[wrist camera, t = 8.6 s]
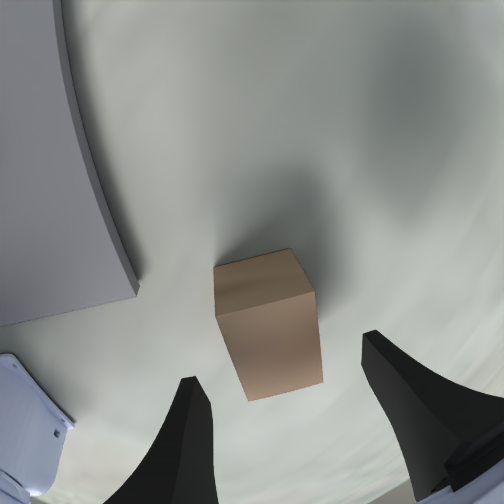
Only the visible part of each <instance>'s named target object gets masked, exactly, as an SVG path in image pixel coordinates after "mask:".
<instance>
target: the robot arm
mask: <svg viewBox="0 0 504 504" xmlns="http://www.w3.org/2000/svg"><path fill="white" fill-rule="evenodd" d="M361 365H362V368H363V370H364V373H365V375H366V378H367V380H368V382H369V385H370V386H371V388H372V390H373V392H374V394H375V395H376V397H377V399H378V401H379V403H380V404H381V406H382V408H383V410H384V412H385V413H386V415H387V417H388V419H389V421H390V423H391V425H392V427H393V429H394V432H395V434H396V437H397V440H398V442H399V445H400V448H401V450H402V453H403V456H404V459H405V462H406V466H407V469H408V472H409V476H410V479H411V483H412V487H413V491H414V496H415V499H416V501H417V503H415V504H504V398H502V397H497V396H493V395H488V394H484V393H481V392H478V391H475V390H472V389H469V388H467V387H464V386H462V385H459V384H457V383H454V382H452V381H450V380H448V379H446V378H444V377H442V376H440V375H439V374H437V373H435V372H433V371H432V370H430V369H428V368H427V367H425V366H424V365H422V364H421V363H419V362H418V361H416V360H415V359H413V358H412V357H410V356H409V355H408V354H406V353H405V352H404V351H402V350H401V349H400V348H398V347H397V346H396V345H395V344H393V343H392V342H391V341H389V340H388V339H387V338H386V337H385V336H383V335H382V334H381V333H380V332H378V331H377V330H373V331H370V332H367V333H364V334H363V340H362V361H361ZM74 427H75V425H74V423H73V422H72V421H71V420H70V419H69V418H68V417H67V416H66V415H65V414H64V413H63V412H62V411H61V410H60V409H59V408H58V407H57V406H56V405H55V404H54V403H53V402H52V401H51V400H50V398H49V397H48V396H47V395H46V394H45V393H44V392H43V390H42V389H41V388H40V387H39V386H38V385H37V383H36V382H35V381H34V380H33V379H32V377H31V376H30V375H29V374H28V372H27V371H26V370H25V369H24V367H23V366H22V365H21V363H20V362H19V361H18V360H17V358H16V357H15V356H14V355H12V354H1V355H0V504H32V503H31V502H30V501H29V498H30V496H40V495H42V494H44V493H46V492H47V491H48V490H49V489H50V487H51V486H52V484H53V483H54V480H55V477H56V473H57V469H58V465H59V460H60V456H61V452H62V448H63V444H64V440H65V437H66V433H67V429H74ZM103 504H219V503H218V497H217V491H216V485H215V477H214V466H213V418H212V410H211V403H210V401H209V399H208V397H207V396H206V394H205V392H204V390H203V388H202V387H201V385H200V383H199V381H198V379H197V378H196V376H193V377H187V378H182V379H181V381H180V384H179V387H178V389H177V392H176V395H175V397H174V400H173V402H172V405H171V407H170V409H169V412H168V414H167V416H166V418H165V421H164V423H163V425H162V427H161V429H160V431H159V433H158V435H157V437H156V439H155V440H154V442H153V444H152V446H151V447H150V449H149V451H148V452H147V454H146V455H145V457H144V458H143V460H142V461H141V463H140V464H139V465H138V467H137V468H136V470H135V471H134V472H133V473H132V475H131V476H130V477H129V478H128V479H127V480H126V481H125V483H124V484H123V485H122V486H121V487H120V488H119V489H118V490H117V491H116V492H115V493H114V494H113V495H112V496H111V497H110V498H109V499H108V500H107V501H105V502H104V503H103Z"/></svg>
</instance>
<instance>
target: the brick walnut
mask: <svg viewBox="0 0 504 504" xmlns="http://www.w3.org/2000/svg"><path fill="white" fill-rule="evenodd" d="M213 270H214V298H215V317H216V320H217V322H218V325H219V328H220V330H221V333H222V336H223V338H224V341H225V344H226V346H227V349H228V352H229V354H230V357H231V359H232V362H233V364H234V367H235V370H236V372H237V375H238V377H239V380H240V382H241V385H242V387H243V390H244V392H245V394H246V397H247V399H248V401H253V400H258V399H262V398H266V397H271V396H275V395H279V394H283V393H287V392H291V391H294V390H298V389H302V388H305V387H309V386H312V385H316V384H319V383H322V382H323V371H322V359H321V348H320V337H319V327H318V317H317V307H316V298H315V291H314V289H313V287H312V285H311V284H310V282H309V280H308V278H307V276H306V275H305V273H304V271H303V269H302V267H301V266H300V264H299V262H298V260H297V258H296V257H295V255H294V253H293V251H292V249H291V248H289V249H285V250H281V251H277V252H273V253H269V254H265V255H261V256H257V257H253V258H249V259H245V260H241V261H237V262H233V263H229V264H225V265H221V266H217V267H213Z"/></svg>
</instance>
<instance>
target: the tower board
mask: <svg viewBox="0 0 504 504" xmlns="http://www.w3.org/2000/svg"><path fill="white" fill-rule="evenodd" d="M139 287H140V285H139V283H138V281H137V278H136V276H135V274H134V271H133V269H132V267H131V264H130V262H129V260H128V257H127V255H126V252H125V250H124V247H123V245H122V242H121V240H120V237H119V235H118V232H117V230H116V227H115V224H114V222H113V219H112V216H111V214H110V211H109V208H108V205H107V202H106V200H105V197H104V194H103V191H102V188H101V185H100V182H99V179H98V176H97V173H96V169H95V166H94V163H93V160H92V156H91V153H90V149H89V146H88V142H87V139H86V135H85V132H84V128H83V124H82V120H81V116H80V112H79V108H78V104H77V99H76V95H75V90H74V86H73V81H72V76H71V71H70V65H69V60H68V54H67V48H66V41H65V34H64V27H63V18H62V9H61V0H0V327H1V326H6V325H10V324H15V323H20V322H25V321H29V320H34V319H39V318H43V317H48V316H53V315H57V314H62V313H66V312H71V311H75V310H80V309H84V308H89V307H93V306H98V305H102V304H106V303H111V302H115V301H120V300H124V299H128V298H133V297H136V296H137V293H138V290H139Z"/></svg>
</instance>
